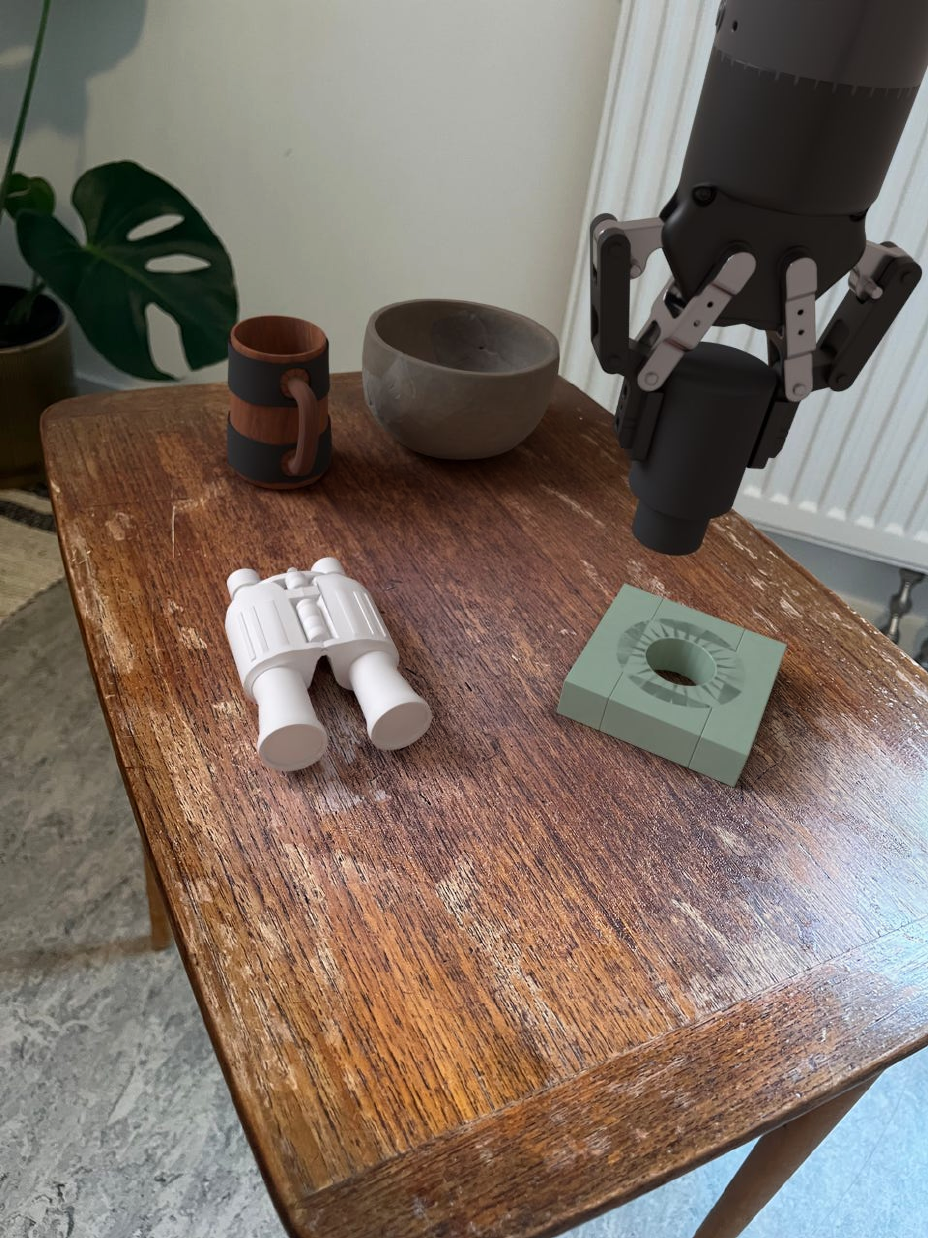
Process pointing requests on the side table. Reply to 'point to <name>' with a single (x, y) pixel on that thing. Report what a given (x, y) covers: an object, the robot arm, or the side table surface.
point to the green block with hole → (663, 711)
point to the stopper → (699, 446)
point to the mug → (278, 402)
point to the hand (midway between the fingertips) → (692, 455)
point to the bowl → (457, 376)
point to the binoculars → (289, 650)
